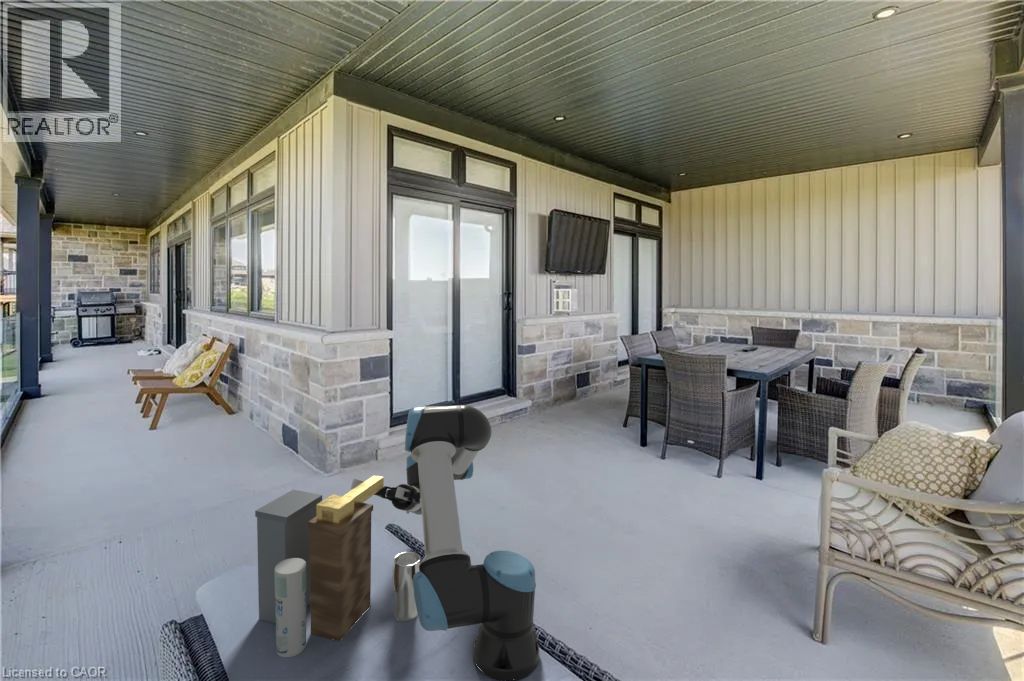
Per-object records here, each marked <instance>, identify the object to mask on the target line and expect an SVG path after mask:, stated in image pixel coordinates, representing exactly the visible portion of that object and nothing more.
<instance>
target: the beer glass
mask: <svg viewBox="0 0 1024 681" xmlns="http://www.w3.org/2000/svg"><path fill="white" fill-rule="evenodd" d="M420 563H421V556H420V554H419V553H417V552H414V551H403V552H401V553H398V554H396V555H395V556H394V558H393V566H392V586H393V590H394V596H395V605H394V610H393V617H394V619H396V620H397V619H398V620H397V621H399V620H400V621H399V622H403V621H406V622H411V621H413V620H414V619H416V618H417V617H418V613H417V609H416V604H415V598H414V587H413V576H414V574H415V573H417V572H419V564H420Z"/></svg>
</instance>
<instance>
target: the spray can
mask: <svg viewBox="0 0 1024 681" xmlns="http://www.w3.org/2000/svg"><path fill="white" fill-rule="evenodd" d="M274 572H275V615H276V624H275V647H276V648H275V650H276V654H277V655H278V656H279V657H281V658H293V657H295V656H297V655H299V654H301V653H302V652H303V651H304V650H305V648H306V645H307V608H306V562H305V561H304V560H303V559H300V558H290V559H286V560H283V561H281V562H280V563H278V564H277V565H276V566H275V570H274Z"/></svg>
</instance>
